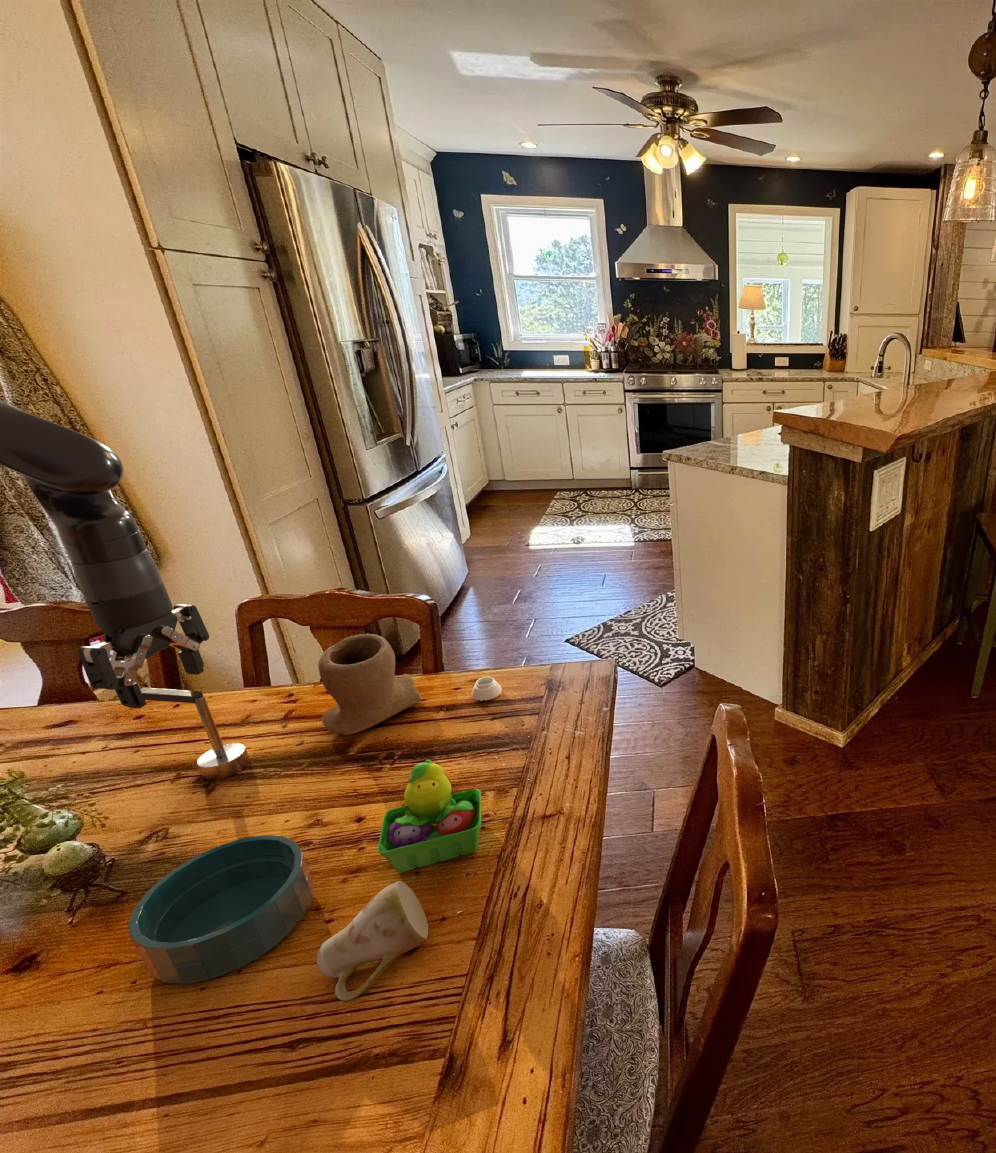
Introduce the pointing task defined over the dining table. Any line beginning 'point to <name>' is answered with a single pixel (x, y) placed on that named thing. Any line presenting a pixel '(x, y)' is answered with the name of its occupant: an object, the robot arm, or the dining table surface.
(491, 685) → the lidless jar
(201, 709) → the rod with disc base
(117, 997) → the dining table surface
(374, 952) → the mug
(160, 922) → the bowl
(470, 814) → the fruit basket
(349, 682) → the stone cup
